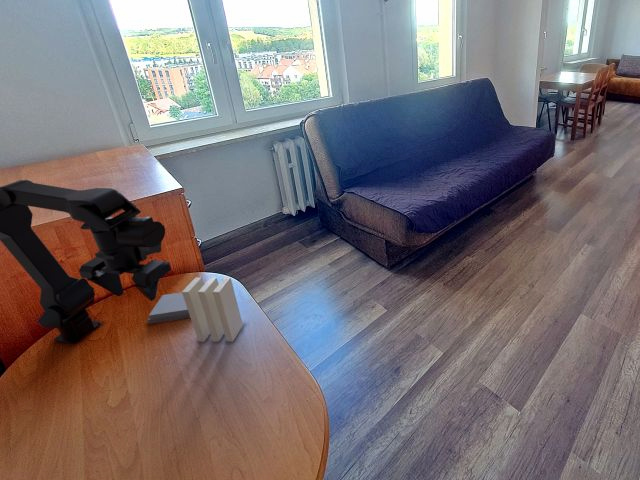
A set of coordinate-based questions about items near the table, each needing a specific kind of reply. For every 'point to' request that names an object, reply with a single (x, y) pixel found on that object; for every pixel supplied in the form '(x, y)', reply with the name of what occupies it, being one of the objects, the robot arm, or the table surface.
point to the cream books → (220, 309)
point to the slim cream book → (196, 308)
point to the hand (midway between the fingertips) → (136, 297)
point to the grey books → (169, 309)
